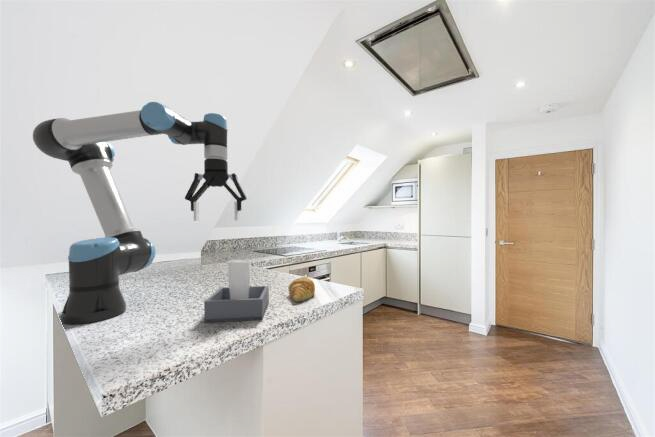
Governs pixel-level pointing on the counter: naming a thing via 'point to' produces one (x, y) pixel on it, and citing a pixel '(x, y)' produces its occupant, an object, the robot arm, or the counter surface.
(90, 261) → the robot arm
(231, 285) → the white plastic tumbler
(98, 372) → the counter surface
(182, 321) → the counter surface
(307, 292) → the croissant
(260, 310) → the bin
